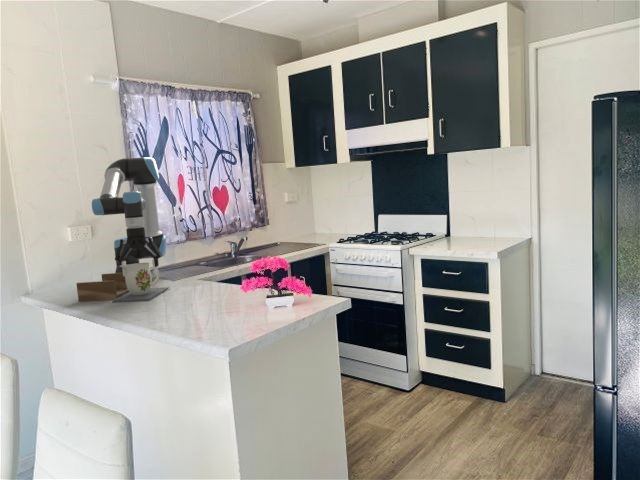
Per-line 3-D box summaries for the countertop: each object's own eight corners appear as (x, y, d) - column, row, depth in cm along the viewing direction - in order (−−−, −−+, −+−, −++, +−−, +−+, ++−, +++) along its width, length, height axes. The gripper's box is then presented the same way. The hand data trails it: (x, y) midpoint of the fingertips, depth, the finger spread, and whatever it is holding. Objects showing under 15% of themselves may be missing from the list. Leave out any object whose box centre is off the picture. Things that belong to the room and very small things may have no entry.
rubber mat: (135, 290, 227) (135, 289, 227) (169, 288, 226) (169, 287, 226) (112, 302, 203) (112, 300, 203) (149, 300, 202) (149, 298, 202)
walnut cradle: (104, 290, 235) (103, 273, 234) (138, 288, 234) (136, 271, 233) (78, 301, 211) (76, 283, 210) (115, 299, 210) (113, 281, 209)
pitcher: (167, 290, 218) (163, 260, 217) (129, 298, 205) (125, 266, 203) (154, 288, 225) (151, 259, 224) (116, 296, 212) (113, 265, 211)
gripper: (103, 229, 208) (108, 278, 211) (160, 226, 207) (165, 274, 210) (111, 228, 216) (116, 275, 218) (166, 224, 215) (171, 271, 217)
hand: (140, 275), depth 214 cm, fingers open, 13 cm apart
